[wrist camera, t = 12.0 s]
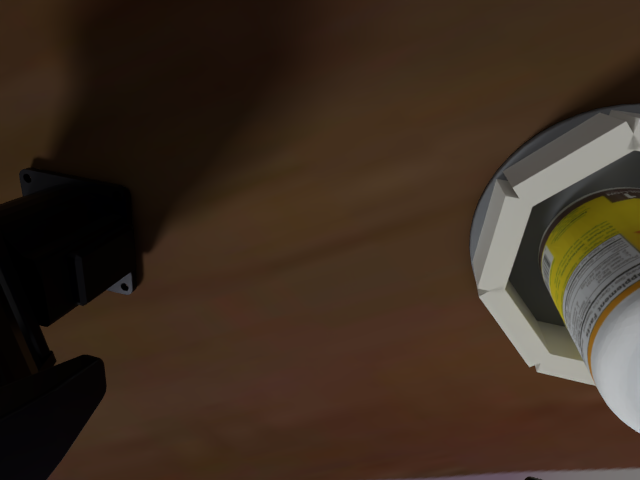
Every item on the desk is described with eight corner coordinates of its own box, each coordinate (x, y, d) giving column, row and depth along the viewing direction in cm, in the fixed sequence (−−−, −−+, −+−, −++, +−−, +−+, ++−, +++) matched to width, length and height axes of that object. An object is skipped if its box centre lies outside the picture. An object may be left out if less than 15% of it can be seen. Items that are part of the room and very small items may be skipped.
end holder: (444, 319, 22) (446, 358, 19) (509, 84, 17) (524, 89, 14) (692, 375, 20) (735, 427, 17) (840, 127, 15) (930, 143, 13)
